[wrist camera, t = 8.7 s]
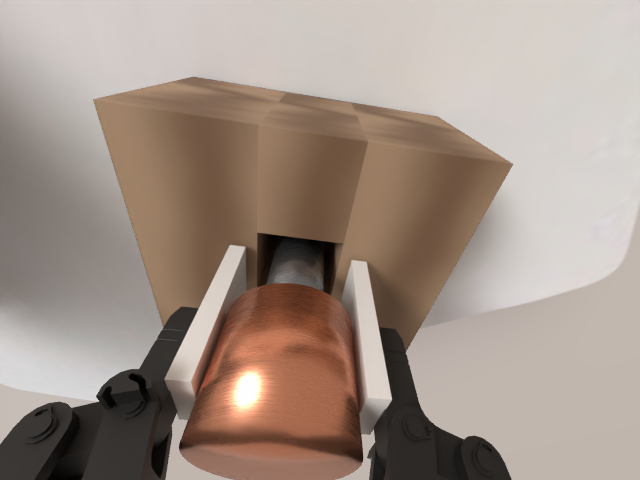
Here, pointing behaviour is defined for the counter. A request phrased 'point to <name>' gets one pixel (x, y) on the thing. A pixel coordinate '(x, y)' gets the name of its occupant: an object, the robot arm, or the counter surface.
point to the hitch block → (295, 189)
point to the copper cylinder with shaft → (280, 381)
